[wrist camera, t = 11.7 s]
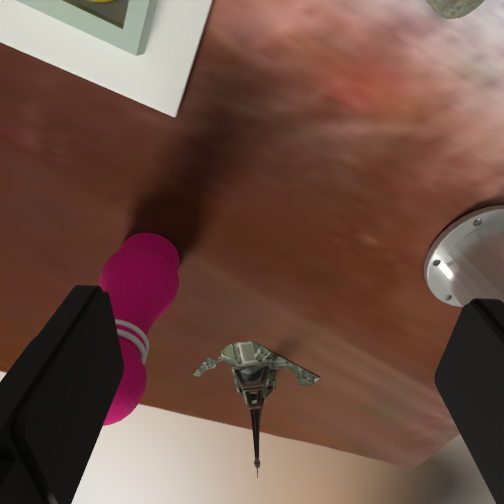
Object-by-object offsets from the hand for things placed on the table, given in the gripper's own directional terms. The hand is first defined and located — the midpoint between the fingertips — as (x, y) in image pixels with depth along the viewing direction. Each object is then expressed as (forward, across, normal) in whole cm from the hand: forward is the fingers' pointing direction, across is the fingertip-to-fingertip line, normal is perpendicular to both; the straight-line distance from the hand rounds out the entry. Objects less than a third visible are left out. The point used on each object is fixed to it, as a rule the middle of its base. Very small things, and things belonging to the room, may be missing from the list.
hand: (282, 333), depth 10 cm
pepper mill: (+25, +12, +13) cm, 31 cm away
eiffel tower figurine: (+27, 0, +33) cm, 42 cm away
